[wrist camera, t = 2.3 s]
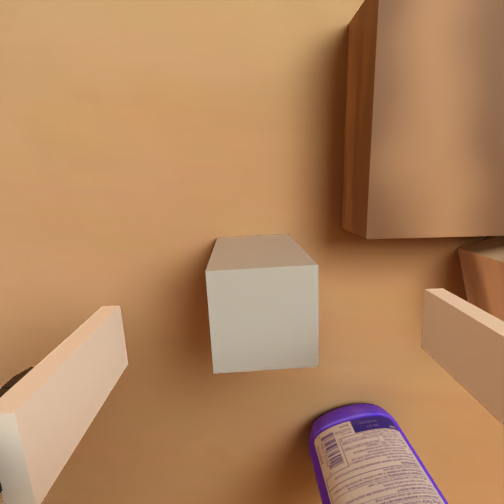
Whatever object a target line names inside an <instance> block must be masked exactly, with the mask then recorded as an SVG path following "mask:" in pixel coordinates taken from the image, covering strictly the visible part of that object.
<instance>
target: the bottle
mask: <svg viewBox="0 0 504 504" xmlns="http://www.w3.org/2000/svg"><path fill="white" fill-rule="evenodd" d="M309 453H310V457H311V460H312V464H313V468H314V472H315V476H316V480H317V484H318V488H319V492H320V496H321V500H322V504H448V502H447V501H446V499H445V498H444V496H443V494H442V493H441V491H440V490H439V488H438V487H437V485H436V484H435V482H434V480H433V479H432V477H431V476H430V474H429V473H428V471H427V470H426V468H425V466H424V465H423V463H422V461H421V460H420V458H419V457H418V455H417V454H416V452H415V450H414V449H413V447H412V446H411V444H410V443H409V441H408V440H407V438H406V436H405V435H404V433H403V432H402V430H401V429H400V427H399V426H398V424H397V422H396V421H395V420H394V418H393V417H392V416H391V415H390V414H389V413H388V412H386V411H385V410H384V409H382V408H381V407H379V406H377V405H373V404H353V405H348V406H344V407H341V408H338V409H335V410H332V411H330V412H328V413H326V414H324V415H322V416H321V417H319V418H318V419H317V420H316V421H314V423H313V426H312V428H311V432H310V437H309Z"/></svg>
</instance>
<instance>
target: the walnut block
mask: <svg viewBox="0 0 504 504" xmlns="http://www.w3.org/2000/svg"><path fill="white" fill-rule="evenodd" d="M341 228H342V229H344V230H346V231H349V232H351V233H353V234H355V235H358V236H360V237H362V238H364V239H394V238H432V237H469V236H504V0H365V1H364V3H363V4H362V5H361V7H360V8H359V10H358V11H357V13H356V14H355V15H354V17H353V18H352V20H351V21H350V23H349V37H348V64H347V91H346V118H345V144H344V171H343V198H342V225H341Z"/></svg>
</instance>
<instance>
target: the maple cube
mask: <svg viewBox="0 0 504 504" xmlns="http://www.w3.org/2000/svg"><path fill="white" fill-rule="evenodd" d="M458 254H459V259H460V264H461V270H462V275H463V280H464V286H465V291H466V297H467V302H469V303H471V304H473V305H474V306H476V307H478V308H480V309H482V310H484V311H485V312H487V313H489V314H491V315H493V316H494V317H496V318H498V319H500V320H502V321H504V236H494V237H491V238H488V239H484V240H481V241H478V242H475V243H472V244H469V245H466V246H462V247H459V248H458Z"/></svg>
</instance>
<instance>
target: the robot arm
mask: <svg viewBox="0 0 504 504" xmlns="http://www.w3.org/2000/svg"><path fill="white" fill-rule="evenodd" d="M421 348H422V349H423V350H424V351H425V352H426V353H428V354H429V355H430V356H431V357H432V358H433V359H434V360H435V361H436V362H437V363H438V364H439V365H440V366H441V367H442V368H443V369H444V370H446V371H447V372H448V373H449V374H450V375H451V376H452V377H453V378H454V379H455V380H456V381H457V382H458V383H459V384H460V385H461V386H462V387H463V388H465V389H466V390H467V391H468V392H469V393H470V394H471V395H472V396H473V397H474V398H475V399H476V400H477V401H478V402H479V403H480V404H481V405H483V406H484V407H485V408H486V409H487V410H488V411H489V412H490V413H491V414H492V415H493V416H494V417H495V418H496V419H497V420H498V421H499V422H500V423H502V424H503V425H504V321H502V320H500V319H498V318H496V317H494V316H493V315H491V314H489V313H487V312H485V311H484V310H482V309H480V308H478V307H476V306H474V305H473V304H471V303H469V302H467V301H465V300H463V299H462V298H460V297H458V296H456V295H454V294H452V293H451V292H449V291H447V290H445V289H443V288H437V289H425V298H424V312H423V327H422V341H421ZM127 365H128V358H127V351H126V344H125V337H124V330H123V323H122V316H121V309H120V305H119V306H102V307H101V308H100V309H99V310H97V311H96V312H95V313H94V314H93V315H92V316H91V317H90V318H88V319H87V320H86V321H85V322H84V323H83V324H82V325H81V326H80V327H78V328H77V329H76V330H75V331H74V332H73V333H72V334H71V335H70V336H68V337H67V338H66V339H65V340H64V341H63V342H62V343H61V344H60V345H58V346H57V347H56V348H55V349H54V350H53V351H52V352H51V353H49V354H48V355H47V356H46V357H45V358H44V359H43V360H42V361H41V362H39V363H38V364H37V365H36V366H35V367H30V368H28V369H27V370H25V371H23V372H21V373H20V374H18V375H16V376H14V377H13V378H12V379H11V380H10V381H8V382H7V383H6V384H5V385H4V386H3V387H2V389H0V493H1V494H2V498H3V501H4V504H41V503H42V501H43V500H44V498H45V496H46V495H47V493H48V492H49V490H50V488H51V487H52V485H53V484H54V482H55V480H56V479H57V477H58V476H59V474H60V472H61V471H62V469H63V468H64V466H65V464H66V463H67V461H68V460H69V458H70V456H71V455H72V453H73V451H74V450H75V448H76V447H77V445H78V443H79V442H80V440H81V439H82V437H83V435H84V434H85V432H86V431H87V429H88V427H89V426H90V424H91V423H92V421H93V419H94V418H95V416H96V415H97V413H98V411H99V410H100V408H101V407H102V405H103V403H104V402H105V400H106V399H107V397H108V395H109V394H110V392H111V391H112V389H113V387H114V386H115V384H116V383H117V381H118V379H119V378H120V376H121V375H122V373H123V371H124V370H125V368H126V367H127Z"/></svg>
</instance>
